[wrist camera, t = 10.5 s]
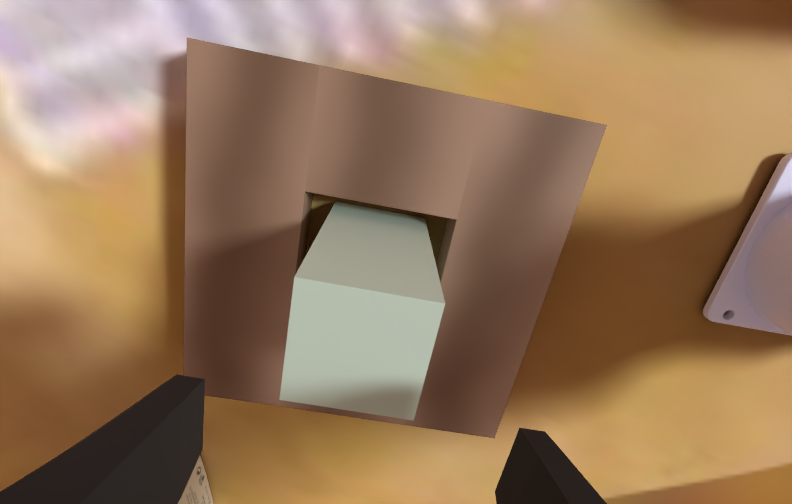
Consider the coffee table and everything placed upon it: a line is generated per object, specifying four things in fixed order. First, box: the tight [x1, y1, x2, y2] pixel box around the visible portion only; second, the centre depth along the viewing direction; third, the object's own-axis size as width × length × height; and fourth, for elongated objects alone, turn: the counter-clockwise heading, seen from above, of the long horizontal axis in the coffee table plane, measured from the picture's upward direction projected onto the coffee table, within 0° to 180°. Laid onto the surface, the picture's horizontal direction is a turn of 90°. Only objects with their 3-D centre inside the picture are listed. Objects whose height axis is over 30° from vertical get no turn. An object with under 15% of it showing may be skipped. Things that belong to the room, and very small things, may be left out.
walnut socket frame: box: [183, 38, 607, 438], centre depth 18 cm, size 15×15×2 cm
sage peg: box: [279, 201, 445, 421], centre depth 15 cm, size 4×4×8 cm
